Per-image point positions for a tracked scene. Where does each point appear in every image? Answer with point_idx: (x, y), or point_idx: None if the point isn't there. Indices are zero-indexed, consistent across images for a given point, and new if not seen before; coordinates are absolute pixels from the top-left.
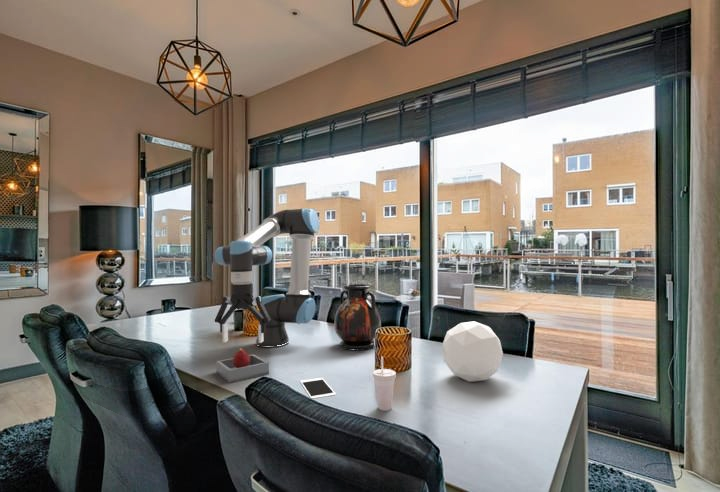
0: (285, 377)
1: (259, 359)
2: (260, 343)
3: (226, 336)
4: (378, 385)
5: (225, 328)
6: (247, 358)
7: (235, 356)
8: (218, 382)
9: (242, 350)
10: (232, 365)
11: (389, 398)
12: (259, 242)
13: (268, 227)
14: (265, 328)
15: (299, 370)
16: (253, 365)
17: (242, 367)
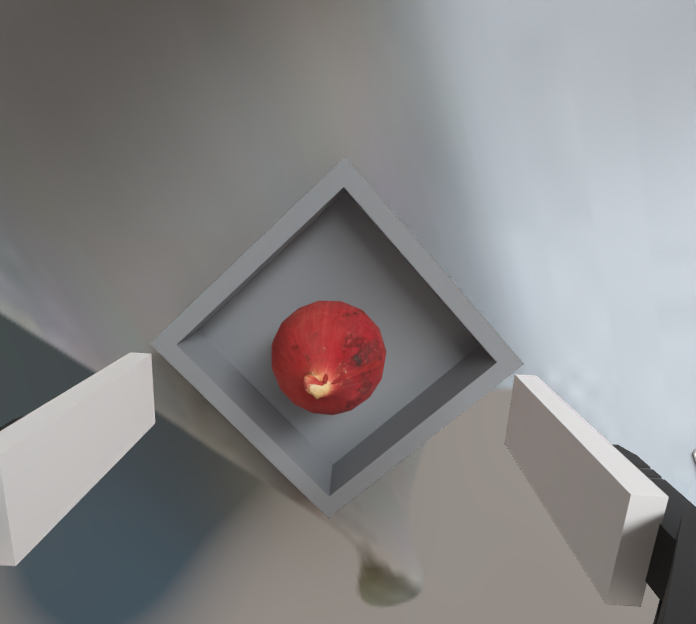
0: (606, 396)
1: (436, 293)
2: None
3: (126, 406)
4: None
5: (62, 482)
6: (379, 380)
7: (296, 402)
8: (274, 472)
9: (334, 386)
10: (246, 282)
11: None
12: None
13: None
14: (657, 484)
15: (674, 276)
16: (439, 425)
17: (383, 463)
